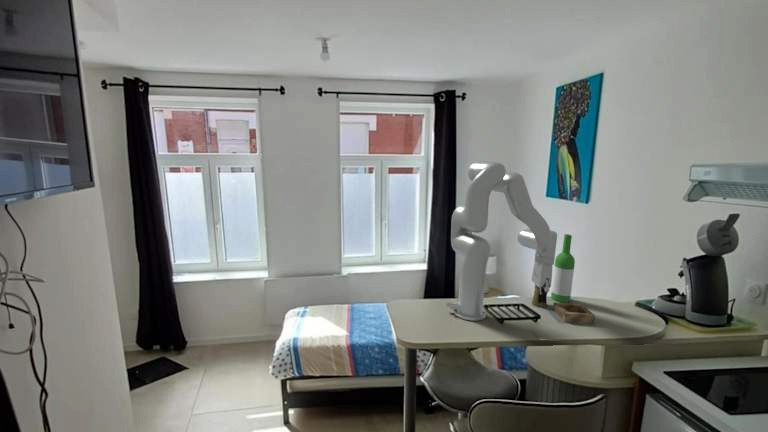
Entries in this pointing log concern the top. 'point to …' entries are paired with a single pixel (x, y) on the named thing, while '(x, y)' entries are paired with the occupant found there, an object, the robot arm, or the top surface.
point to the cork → (535, 298)
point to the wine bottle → (563, 273)
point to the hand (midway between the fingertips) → (539, 300)
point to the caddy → (574, 313)
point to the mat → (561, 319)
